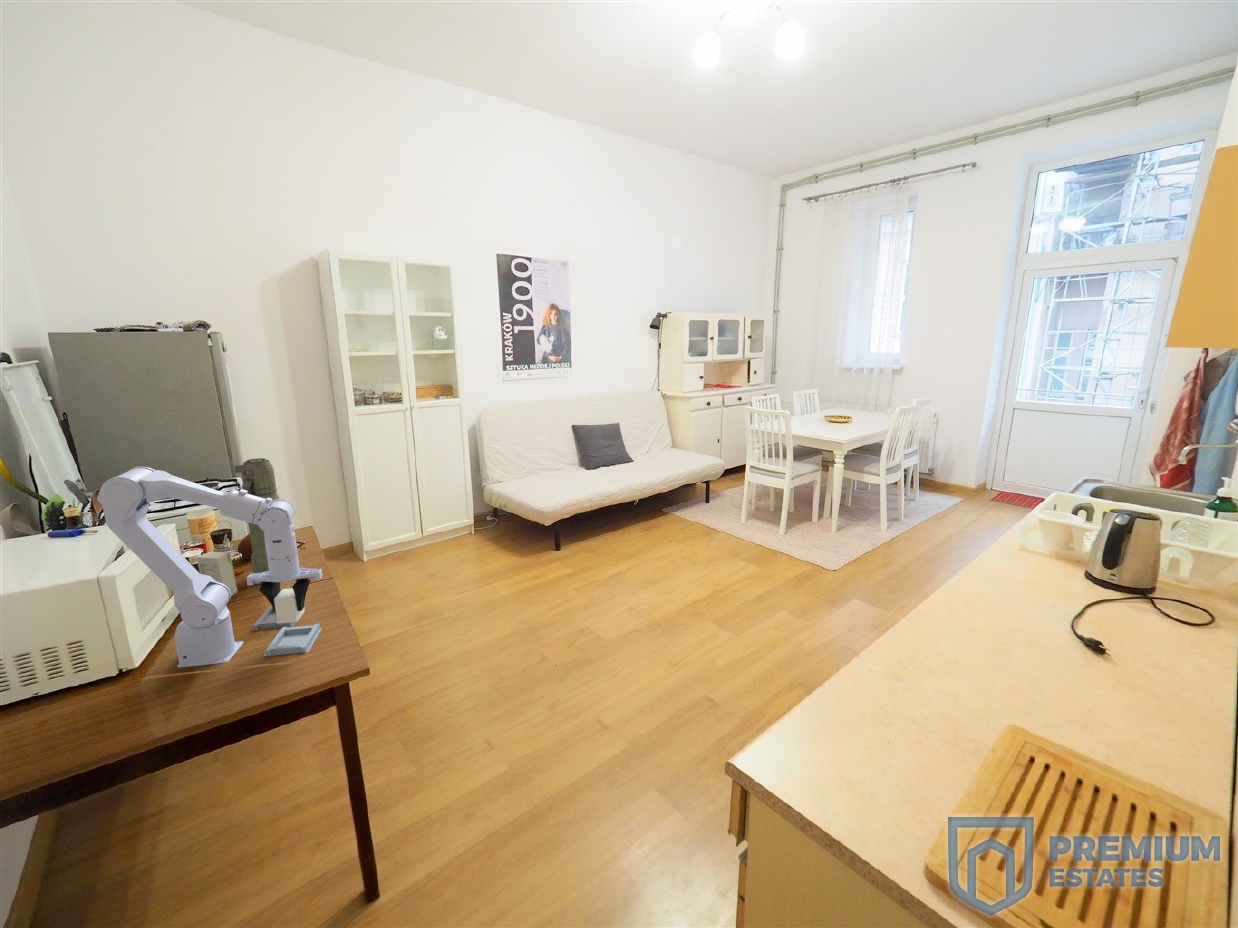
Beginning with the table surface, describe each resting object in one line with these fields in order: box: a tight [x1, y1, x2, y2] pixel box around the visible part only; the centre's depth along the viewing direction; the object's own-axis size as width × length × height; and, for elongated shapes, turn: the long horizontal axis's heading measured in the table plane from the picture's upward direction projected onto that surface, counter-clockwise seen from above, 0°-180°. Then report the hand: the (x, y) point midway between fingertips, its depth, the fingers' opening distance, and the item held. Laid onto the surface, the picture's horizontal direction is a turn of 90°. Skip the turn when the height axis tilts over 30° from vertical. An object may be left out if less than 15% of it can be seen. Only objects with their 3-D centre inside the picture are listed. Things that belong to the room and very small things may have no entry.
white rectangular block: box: [274, 587, 306, 624], centre depth 118 cm, size 4×5×6 cm
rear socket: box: [251, 603, 308, 632], centre depth 130 cm, size 9×10×2 cm
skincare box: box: [196, 551, 238, 597], centre depth 139 cm, size 6×4×12 cm
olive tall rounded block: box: [240, 457, 281, 573], centre depth 150 cm, size 9×12×35 cm
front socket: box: [263, 623, 323, 657], centre depth 120 cm, size 9×10×2 cm
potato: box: [236, 533, 252, 560], centre depth 166 cm, size 8×12×8 cm, turn 0°
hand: (290, 610), depth 118 cm, fingers closed on white rectangular block, 4 cm apart
